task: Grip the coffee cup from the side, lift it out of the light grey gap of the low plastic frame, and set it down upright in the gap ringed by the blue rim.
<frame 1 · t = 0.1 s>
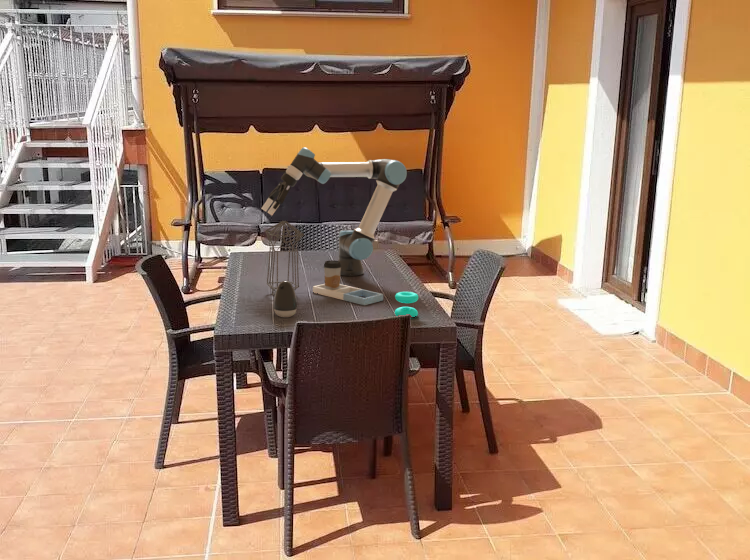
hand: (266, 212, 374), 36 cm above the table, tool tilted 35°, fingers open, 13 cm apart
coffee cup: (332, 293, 368), resting in gap frame
geometric lantern: (284, 294, 362), on the table
donuts: (406, 316, 330), on the table
gap frame: (347, 296, 361), on the table
pump dispenser: (285, 316, 326), on the table
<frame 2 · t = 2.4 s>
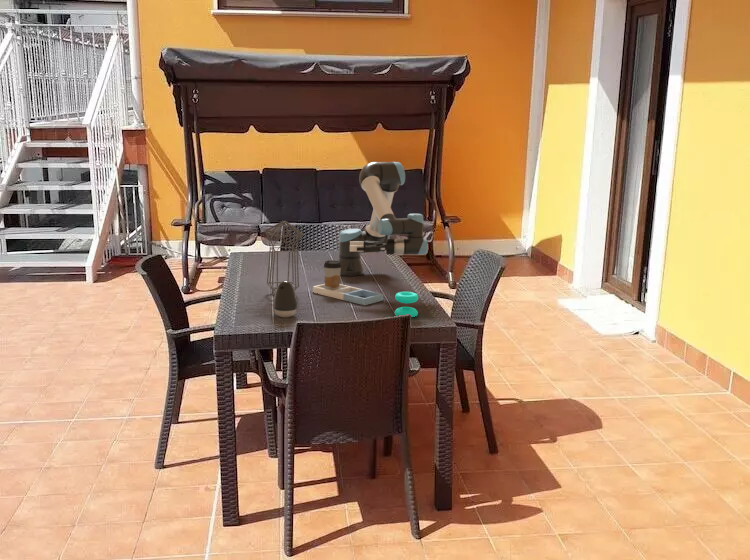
hand: (349, 246, 364), 23 cm above the table, tool horizontal, fingers open, 13 cm apart
nothing on the table moved.
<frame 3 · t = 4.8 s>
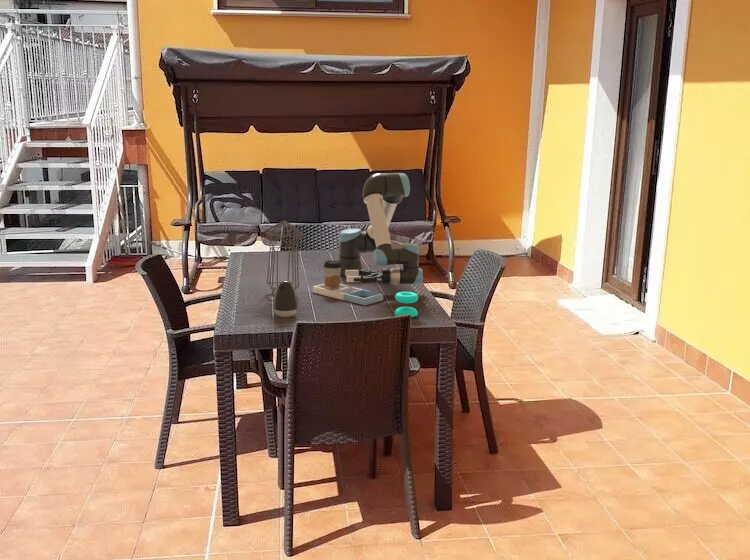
hand: (345, 275, 366), 8 cm above the table, tool horizontal, fingers open, 13 cm apart
nothing on the table moved.
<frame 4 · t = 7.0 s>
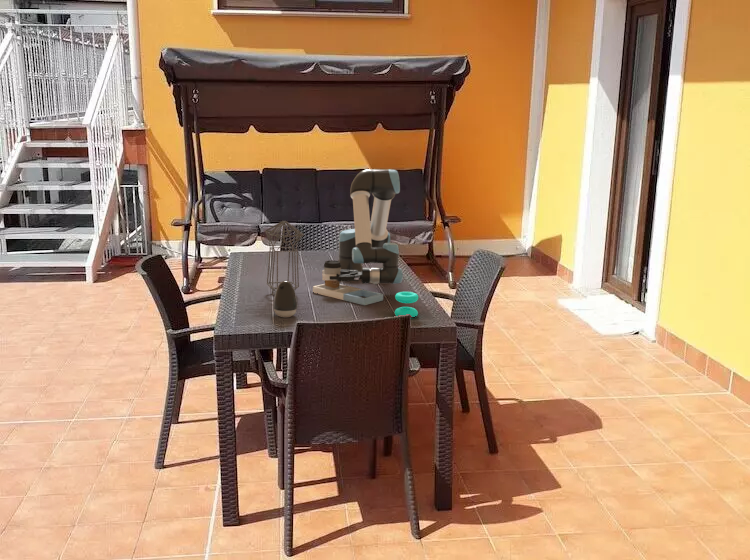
hand: (322, 275, 365), 9 cm above the table, tool horizontal, fingers closed on coffee cup, 8 cm apart
coffee cup: (332, 293, 368), resting in gap frame, touching gripper
everything else where it was.
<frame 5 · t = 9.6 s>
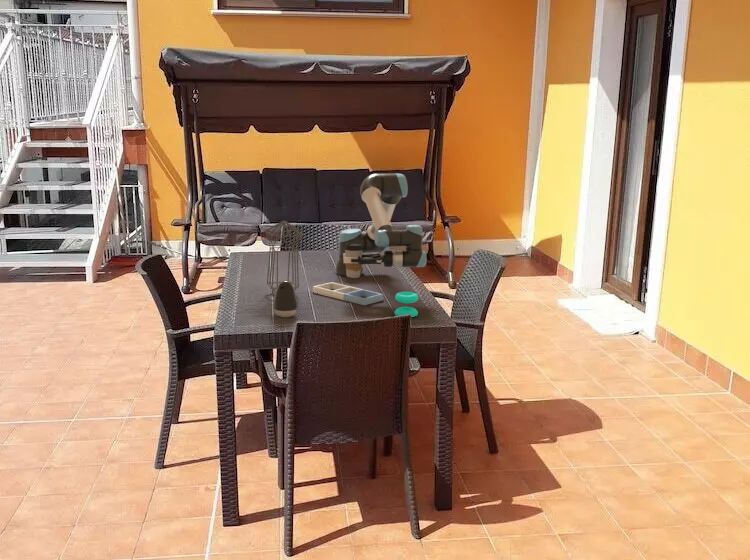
hand: (343, 258, 353), 19 cm above the table, tool horizontal, fingers closed on coffee cup, 8 cm apart
coffee cup: (353, 276, 355), point 10 cm above the table, touching gripper
everything else where it was.
when the fingers open (10 cm above the table, at t = 12.4 s): coffee cup drops 1 cm, resting in gap frame.
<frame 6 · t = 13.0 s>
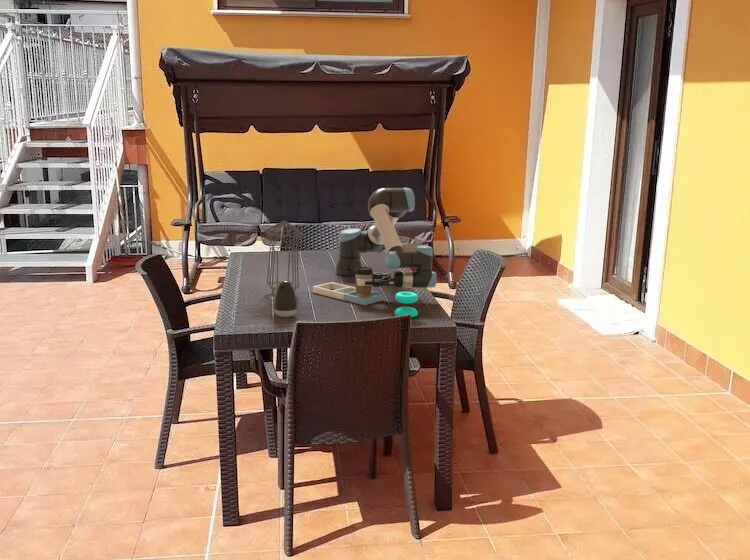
hand: (356, 279, 352), 10 cm above the table, tool horizontal, fingers open, 13 cm apart
coffee cup: (363, 300, 355), resting in gap frame
everything else where it was.
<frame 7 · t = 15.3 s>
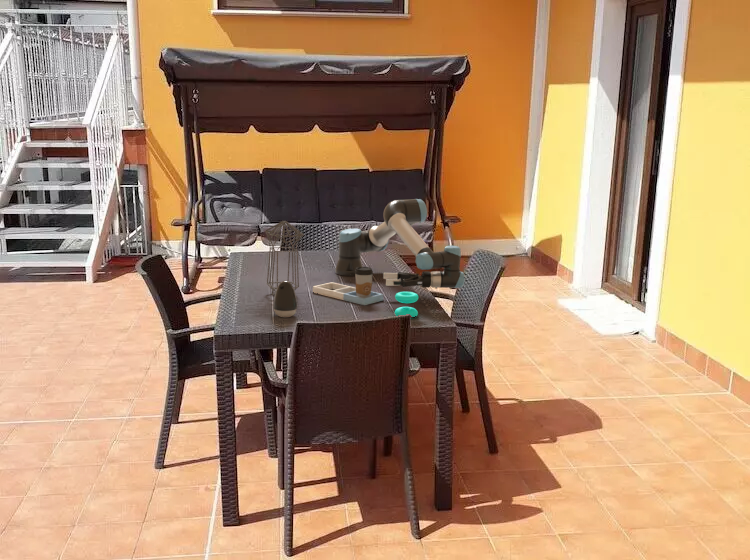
hand: (384, 279, 353), 10 cm above the table, tool horizontal, fingers open, 13 cm apart
nothing on the table moved.
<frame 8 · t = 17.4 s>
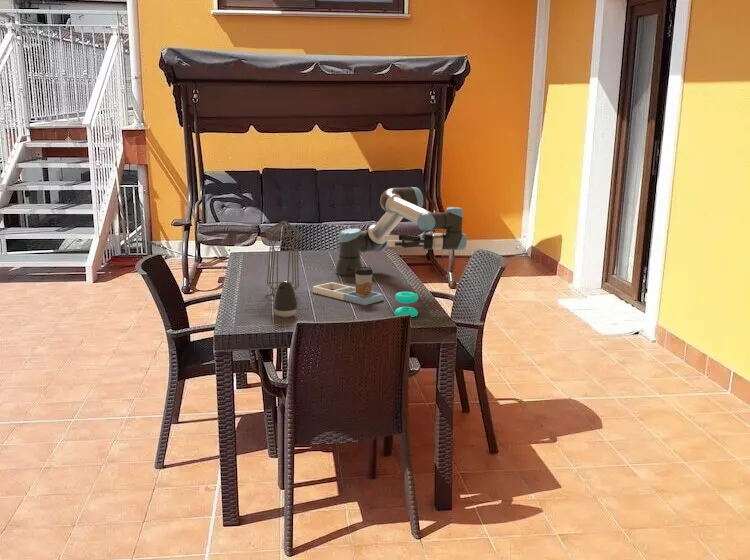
hand: (385, 240, 349), 28 cm above the table, tool horizontal, fingers open, 13 cm apart
nothing on the table moved.
at the end: coffee cup 0.1 cm from the target spot on the gap frame, point 0.0 cm above the gap frame's base; coffee cup tilted 0°; the gripper is holding nothing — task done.
